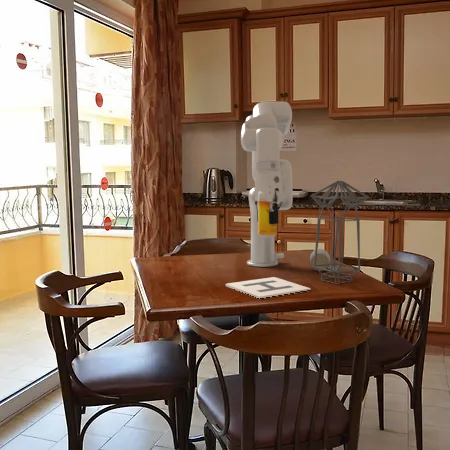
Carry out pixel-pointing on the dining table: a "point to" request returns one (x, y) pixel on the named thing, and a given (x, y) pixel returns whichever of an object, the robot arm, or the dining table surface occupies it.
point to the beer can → (265, 217)
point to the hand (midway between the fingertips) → (267, 222)
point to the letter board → (267, 287)
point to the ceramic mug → (321, 260)
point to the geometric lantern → (338, 226)
